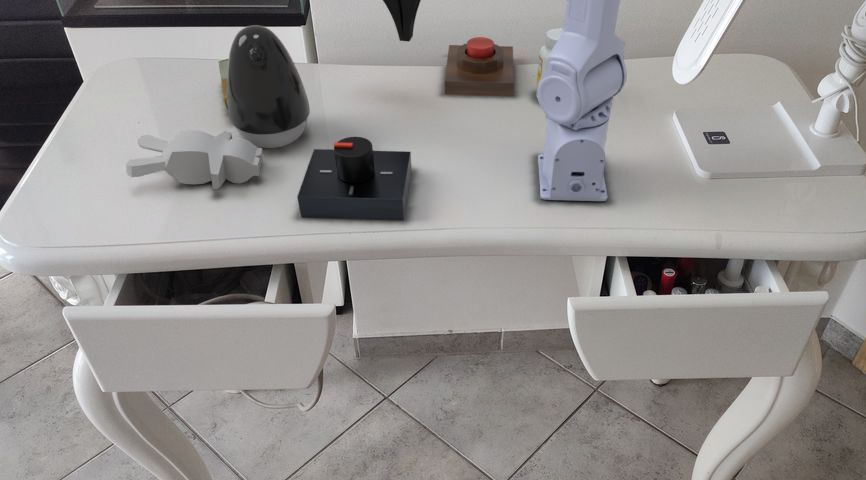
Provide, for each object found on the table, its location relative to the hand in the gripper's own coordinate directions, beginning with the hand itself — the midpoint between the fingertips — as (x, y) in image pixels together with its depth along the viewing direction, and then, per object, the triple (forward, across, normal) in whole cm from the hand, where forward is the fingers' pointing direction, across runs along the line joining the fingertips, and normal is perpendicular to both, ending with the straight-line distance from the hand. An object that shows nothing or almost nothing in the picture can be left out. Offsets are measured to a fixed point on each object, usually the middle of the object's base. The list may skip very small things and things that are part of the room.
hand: (406, 38), depth 97 cm
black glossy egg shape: (+10, -15, -14) cm, 22 cm away
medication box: (+10, -24, -6) cm, 26 cm away
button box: (+9, +9, +10) cm, 16 cm away
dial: (+6, 0, -23) cm, 24 cm away
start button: (+6, +9, +10) cm, 14 cm away
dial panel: (+9, 0, -23) cm, 25 cm away
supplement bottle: (+10, +20, +5) cm, 23 cm away
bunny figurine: (+10, -20, -24) cm, 33 cm away
